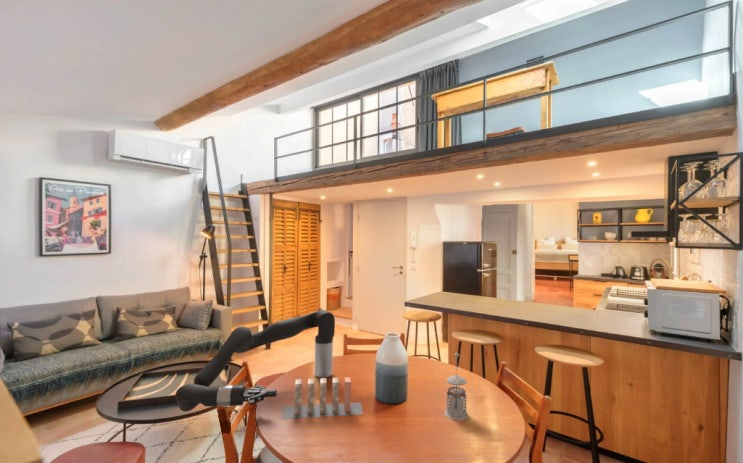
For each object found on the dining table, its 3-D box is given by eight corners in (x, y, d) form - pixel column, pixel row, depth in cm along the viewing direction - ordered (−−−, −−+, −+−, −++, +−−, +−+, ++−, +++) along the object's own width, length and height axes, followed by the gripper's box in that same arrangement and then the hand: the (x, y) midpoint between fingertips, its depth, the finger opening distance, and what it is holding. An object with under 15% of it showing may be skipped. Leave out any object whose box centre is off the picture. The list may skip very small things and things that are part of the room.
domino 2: (307, 414, 138) (307, 383, 138) (307, 408, 142) (308, 379, 143) (313, 413, 138) (313, 383, 138) (313, 407, 143) (314, 378, 143)
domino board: (284, 408, 144) (284, 406, 144) (360, 404, 148) (360, 402, 148) (281, 421, 134) (281, 418, 134) (363, 416, 138) (363, 414, 138)
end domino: (344, 411, 140) (345, 382, 140) (344, 406, 144) (344, 377, 145) (350, 411, 140) (351, 381, 140) (349, 405, 145) (350, 377, 145)
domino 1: (294, 414, 137) (295, 384, 137) (295, 408, 142) (296, 379, 142) (300, 414, 137) (301, 384, 138) (301, 408, 142) (301, 379, 142)
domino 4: (332, 412, 139) (332, 382, 139) (332, 406, 144) (332, 378, 144) (338, 412, 139) (338, 382, 140) (337, 406, 144) (338, 377, 144)
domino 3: (319, 413, 138) (320, 383, 139) (320, 407, 143) (320, 378, 143) (325, 413, 139) (326, 383, 139) (325, 407, 143) (326, 378, 144)
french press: (468, 410, 144) (469, 350, 145) (468, 424, 133) (469, 359, 134) (444, 406, 147) (445, 348, 147) (443, 420, 136) (443, 357, 136)
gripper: (235, 397, 142) (278, 395, 145) (226, 413, 129) (273, 410, 132) (235, 379, 142) (278, 377, 145) (226, 393, 129) (274, 390, 132)
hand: (276, 393), depth 138 cm, fingers closed
